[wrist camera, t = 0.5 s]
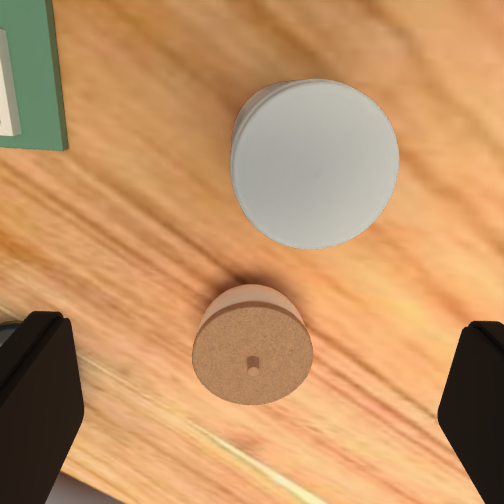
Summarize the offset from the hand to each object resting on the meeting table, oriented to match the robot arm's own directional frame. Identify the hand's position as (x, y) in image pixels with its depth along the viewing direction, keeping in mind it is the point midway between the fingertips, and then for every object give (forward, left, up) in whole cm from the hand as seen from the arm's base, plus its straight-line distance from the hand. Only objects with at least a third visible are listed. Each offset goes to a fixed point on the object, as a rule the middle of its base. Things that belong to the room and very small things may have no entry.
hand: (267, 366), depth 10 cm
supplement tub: (-2, +3, -29) cm, 29 cm away
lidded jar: (+16, +1, -29) cm, 33 cm away
